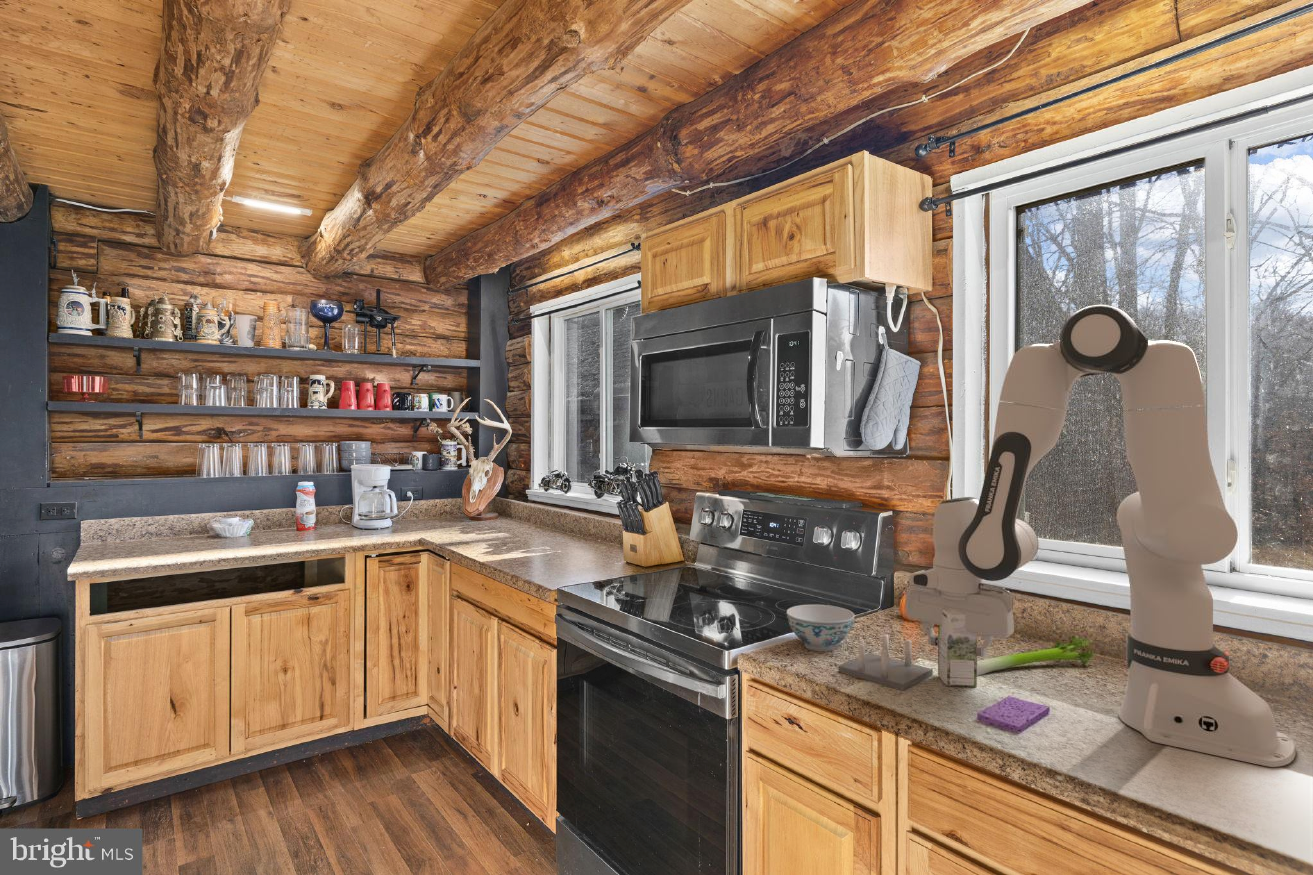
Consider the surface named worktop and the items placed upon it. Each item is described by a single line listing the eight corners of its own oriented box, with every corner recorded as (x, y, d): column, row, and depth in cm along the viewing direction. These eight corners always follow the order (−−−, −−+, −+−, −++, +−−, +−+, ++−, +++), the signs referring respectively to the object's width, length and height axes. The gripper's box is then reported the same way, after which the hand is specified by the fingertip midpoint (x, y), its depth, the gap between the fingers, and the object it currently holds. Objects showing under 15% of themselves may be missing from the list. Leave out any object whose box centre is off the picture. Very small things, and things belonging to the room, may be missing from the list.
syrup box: (967, 676, 139) (967, 604, 139) (977, 688, 133) (978, 612, 133) (937, 676, 140) (937, 603, 139) (946, 687, 134) (946, 611, 134)
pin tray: (932, 675, 140) (932, 644, 140) (902, 690, 132) (902, 658, 132) (869, 658, 151) (869, 629, 150) (838, 671, 143) (838, 641, 142)
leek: (954, 678, 144) (1075, 654, 151) (977, 695, 138) (1103, 669, 144) (954, 650, 143) (1076, 628, 150) (978, 666, 137) (1104, 642, 143)
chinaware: (862, 657, 151) (862, 621, 151) (793, 657, 151) (793, 622, 151) (844, 636, 166) (844, 604, 166) (781, 636, 166) (781, 604, 166)
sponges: (976, 723, 119) (976, 712, 119) (1008, 703, 127) (1008, 693, 127) (1019, 737, 113) (1019, 725, 113) (1050, 716, 122) (1050, 705, 121)
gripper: (1019, 586, 131) (1019, 659, 131) (916, 569, 146) (916, 635, 146) (1006, 591, 126) (1006, 667, 127) (901, 574, 142) (901, 642, 142)
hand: (957, 650), depth 136 cm, fingers open, 8 cm apart
